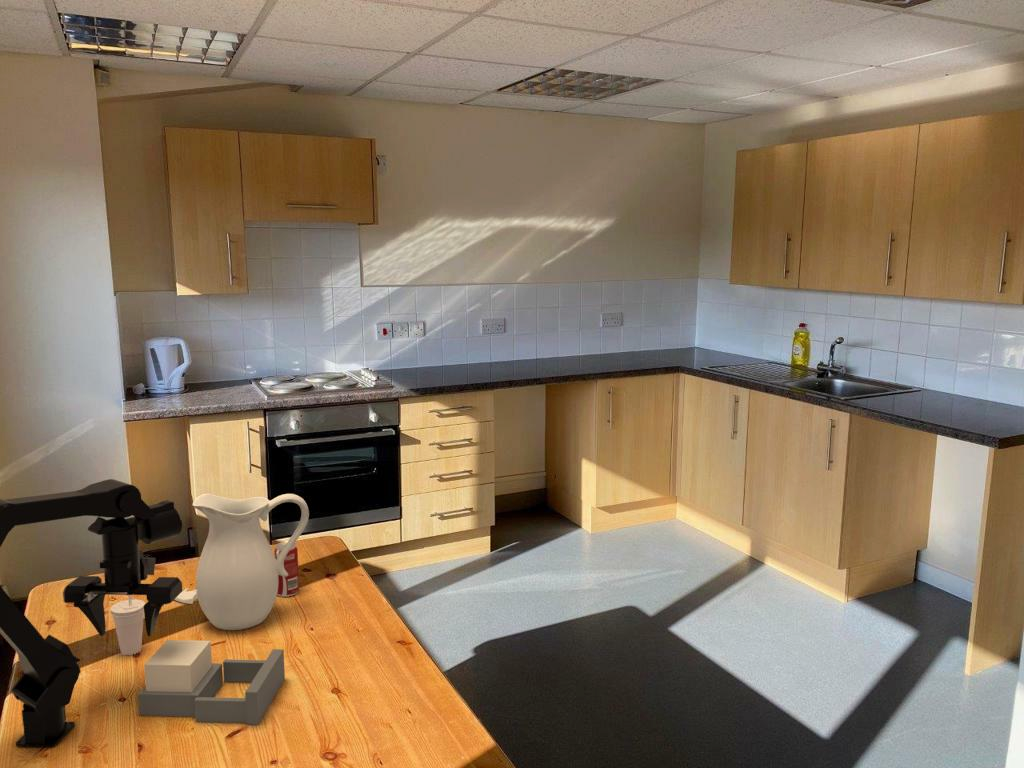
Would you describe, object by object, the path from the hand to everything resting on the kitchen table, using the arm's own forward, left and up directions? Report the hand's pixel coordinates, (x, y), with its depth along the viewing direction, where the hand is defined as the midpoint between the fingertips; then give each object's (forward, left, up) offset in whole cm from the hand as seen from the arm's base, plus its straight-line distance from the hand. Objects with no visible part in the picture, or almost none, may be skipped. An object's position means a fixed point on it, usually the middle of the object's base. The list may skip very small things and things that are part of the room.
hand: (126, 635), depth 145 cm
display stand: (0, -15, -12) cm, 19 cm away
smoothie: (+17, +8, -12) cm, 22 cm away
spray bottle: (+50, +2, -13) cm, 52 cm away
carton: (0, -9, -8) cm, 12 cm away
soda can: (+46, -15, -12) cm, 50 cm away
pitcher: (+33, -12, -12) cm, 37 cm away
